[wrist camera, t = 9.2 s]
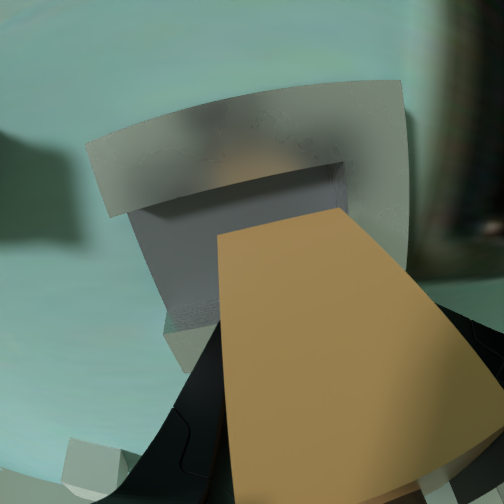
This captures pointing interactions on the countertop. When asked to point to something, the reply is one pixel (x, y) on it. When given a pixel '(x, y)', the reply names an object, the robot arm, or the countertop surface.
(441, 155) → the countertop surface
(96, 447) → the white cube
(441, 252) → the countertop surface
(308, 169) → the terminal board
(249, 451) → the tan upright block
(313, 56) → the countertop surface
